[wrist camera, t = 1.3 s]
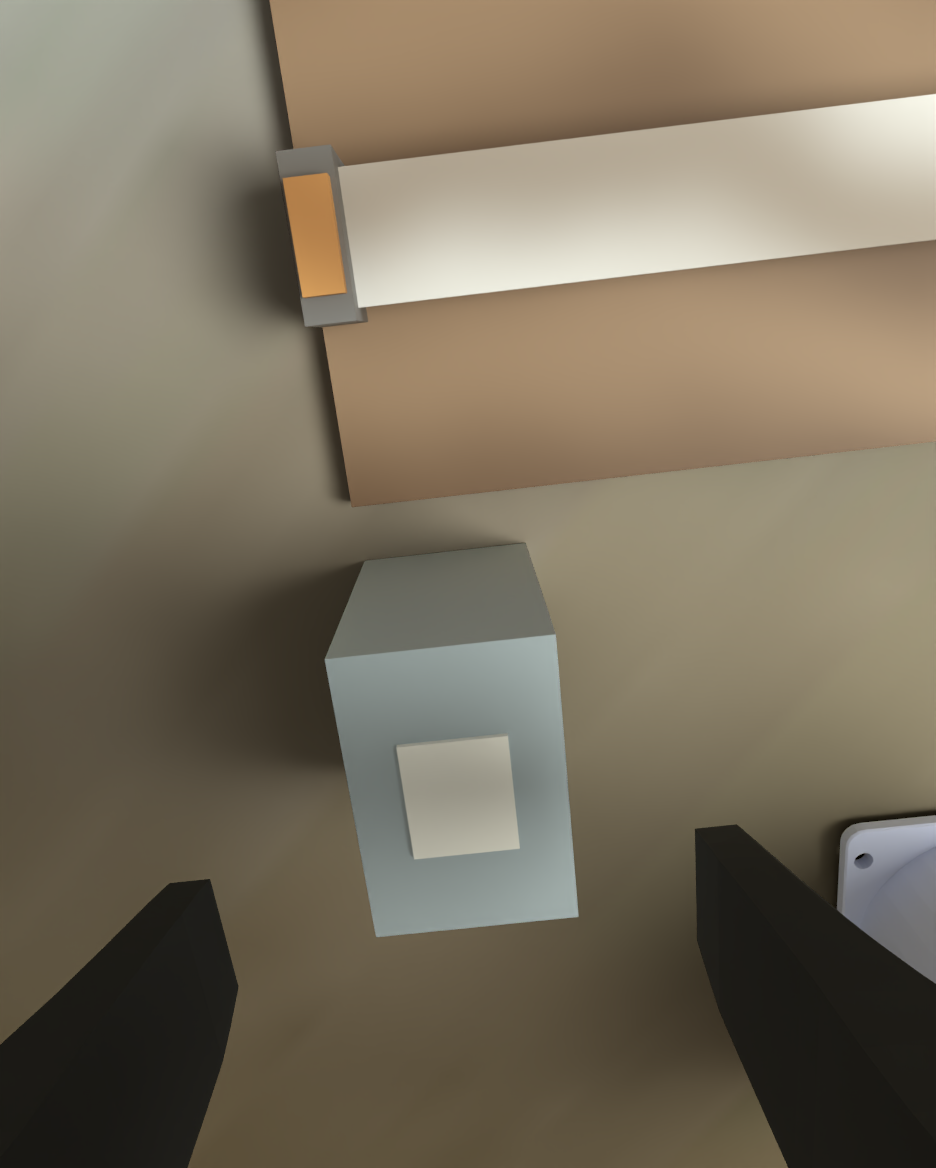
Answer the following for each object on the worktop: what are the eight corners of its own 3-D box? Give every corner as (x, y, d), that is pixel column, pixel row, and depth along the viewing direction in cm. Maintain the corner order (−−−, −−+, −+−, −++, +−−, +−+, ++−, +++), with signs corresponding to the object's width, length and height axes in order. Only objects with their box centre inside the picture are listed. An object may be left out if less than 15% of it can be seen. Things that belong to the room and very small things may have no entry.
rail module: (544, 755, 21) (579, 920, 15) (398, 770, 21) (375, 941, 15) (525, 543, 19) (556, 636, 13) (364, 560, 19) (323, 661, 13)
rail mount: (1110, 417, 18) (1229, 431, 15) (354, 501, 18) (336, 531, 16) (1199, -168, 14) (1374, -286, 12) (266, -49, 15) (223, -135, 12)
